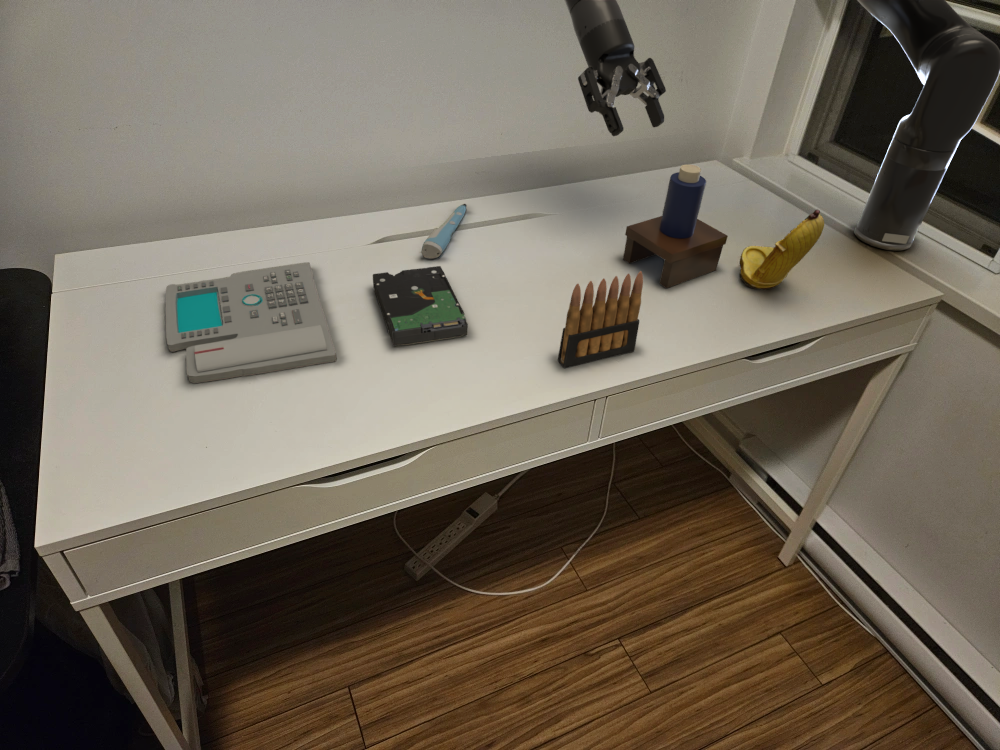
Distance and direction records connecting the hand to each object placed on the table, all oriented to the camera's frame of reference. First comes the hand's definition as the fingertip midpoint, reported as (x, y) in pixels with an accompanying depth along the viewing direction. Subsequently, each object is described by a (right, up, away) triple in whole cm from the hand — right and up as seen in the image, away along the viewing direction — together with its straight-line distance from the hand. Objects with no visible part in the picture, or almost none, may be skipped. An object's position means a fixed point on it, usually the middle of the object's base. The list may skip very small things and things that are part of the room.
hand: (639, 129), depth 108 cm
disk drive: (-33, -30, -11) cm, 46 cm away
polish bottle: (+6, -16, -1) cm, 17 cm away
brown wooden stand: (+5, -21, +3) cm, 22 cm away
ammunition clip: (-9, -36, -16) cm, 40 cm away
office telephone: (-56, -31, -15) cm, 65 cm away
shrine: (+20, -25, 0) cm, 31 cm away
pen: (-31, -15, +7) cm, 35 cm away
